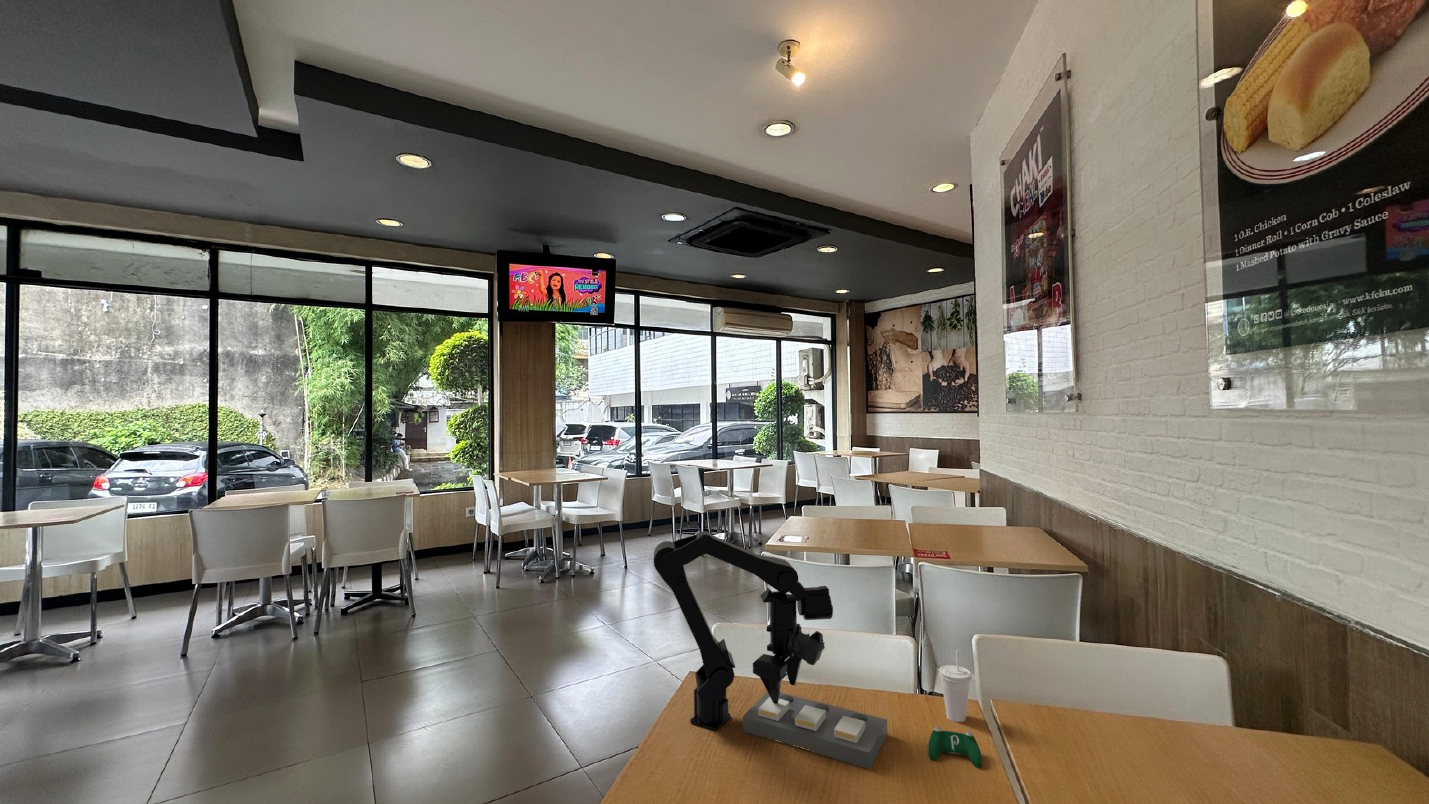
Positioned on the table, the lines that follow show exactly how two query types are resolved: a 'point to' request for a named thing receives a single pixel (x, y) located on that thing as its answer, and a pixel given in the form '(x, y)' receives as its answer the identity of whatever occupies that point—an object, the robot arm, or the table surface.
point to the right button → (849, 729)
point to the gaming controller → (954, 745)
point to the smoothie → (955, 690)
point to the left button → (773, 709)
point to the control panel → (820, 731)
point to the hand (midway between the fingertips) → (784, 693)
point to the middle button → (810, 718)
